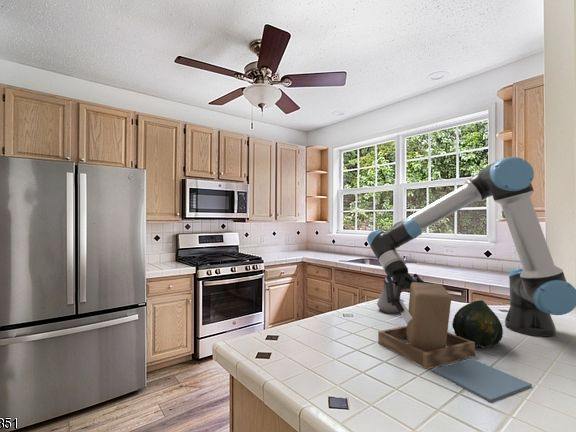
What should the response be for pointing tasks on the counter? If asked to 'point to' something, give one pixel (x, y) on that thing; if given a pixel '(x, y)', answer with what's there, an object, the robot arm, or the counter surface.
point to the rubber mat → (482, 379)
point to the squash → (478, 324)
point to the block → (428, 316)
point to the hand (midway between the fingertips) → (426, 319)
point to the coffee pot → (383, 302)
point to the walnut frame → (454, 352)
